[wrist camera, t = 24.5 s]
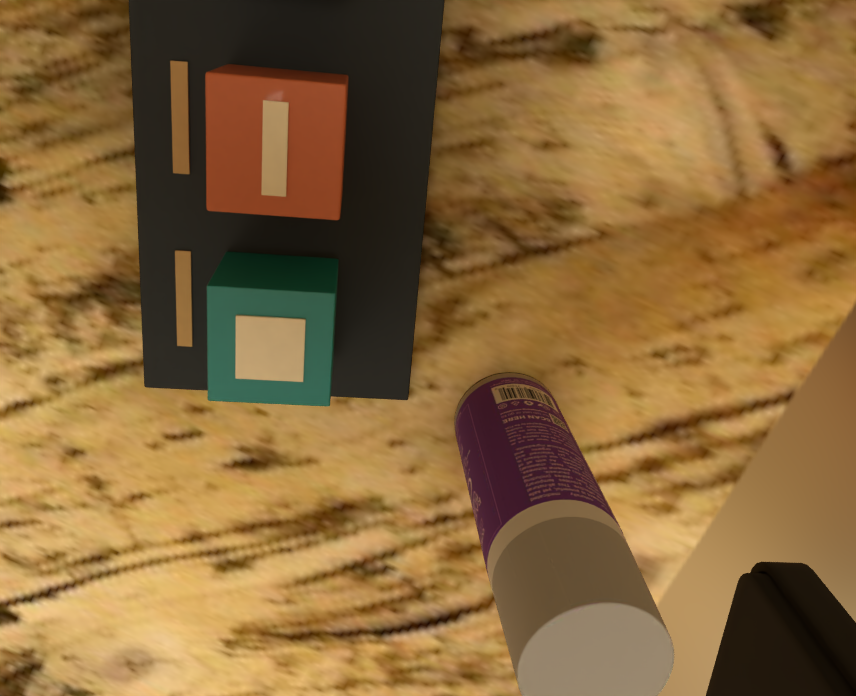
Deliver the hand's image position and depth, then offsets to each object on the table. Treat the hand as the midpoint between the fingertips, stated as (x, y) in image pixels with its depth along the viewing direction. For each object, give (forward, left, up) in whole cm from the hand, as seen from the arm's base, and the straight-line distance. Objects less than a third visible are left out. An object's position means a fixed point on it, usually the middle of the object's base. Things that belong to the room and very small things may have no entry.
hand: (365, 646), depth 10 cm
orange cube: (-3, -3, -24) cm, 24 cm away
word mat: (-3, -3, -24) cm, 25 cm away
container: (+9, +7, -24) cm, 27 cm away
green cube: (+4, -3, -24) cm, 24 cm away
